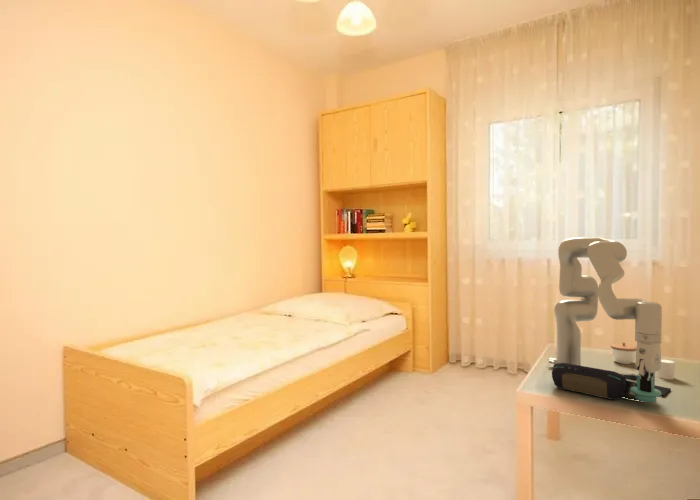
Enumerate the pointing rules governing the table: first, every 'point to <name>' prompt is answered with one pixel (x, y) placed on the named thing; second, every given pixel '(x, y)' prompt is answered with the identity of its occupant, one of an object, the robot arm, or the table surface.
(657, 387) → the handheld gaming console
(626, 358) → the lidded jar
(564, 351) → the robot arm
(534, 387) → the table surface
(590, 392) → the portable speaker
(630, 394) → the octagonal studded bezel
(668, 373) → the beige cup
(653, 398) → the teal disc with handle
